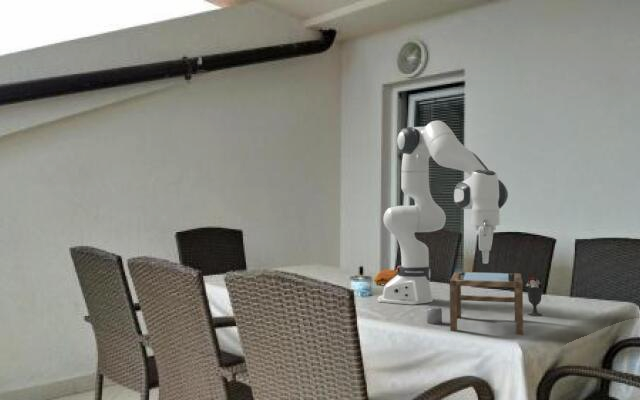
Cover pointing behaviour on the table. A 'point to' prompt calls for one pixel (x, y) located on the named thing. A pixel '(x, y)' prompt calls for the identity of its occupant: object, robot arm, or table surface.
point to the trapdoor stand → (485, 297)
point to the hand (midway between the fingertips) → (485, 262)
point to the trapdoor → (486, 276)
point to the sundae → (534, 294)
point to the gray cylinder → (434, 315)
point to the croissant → (385, 276)
